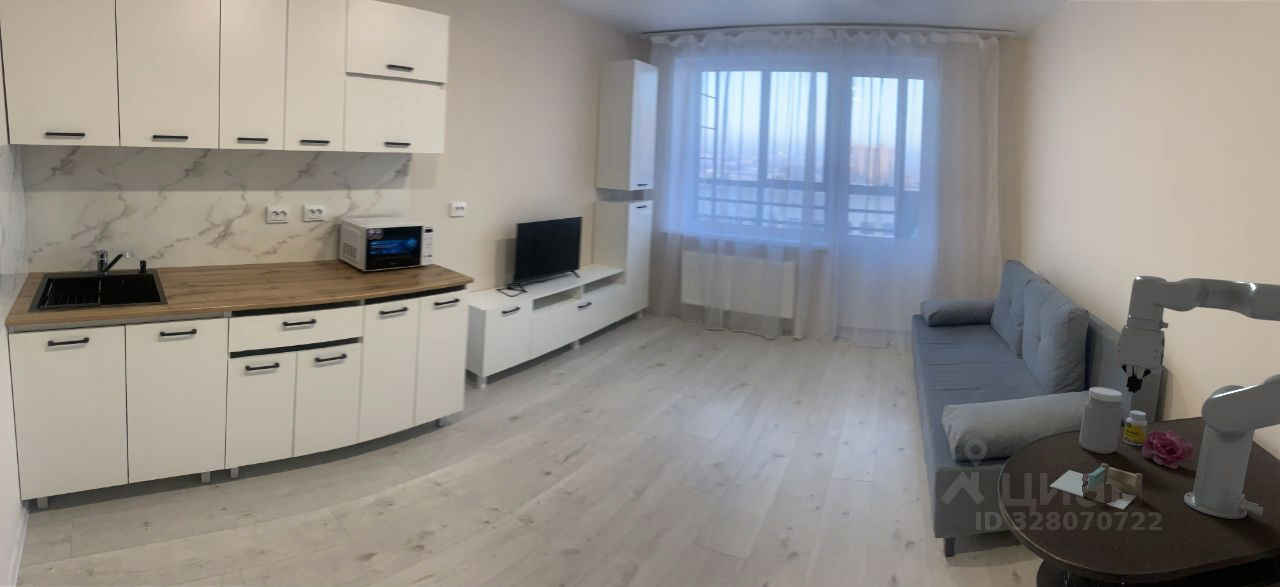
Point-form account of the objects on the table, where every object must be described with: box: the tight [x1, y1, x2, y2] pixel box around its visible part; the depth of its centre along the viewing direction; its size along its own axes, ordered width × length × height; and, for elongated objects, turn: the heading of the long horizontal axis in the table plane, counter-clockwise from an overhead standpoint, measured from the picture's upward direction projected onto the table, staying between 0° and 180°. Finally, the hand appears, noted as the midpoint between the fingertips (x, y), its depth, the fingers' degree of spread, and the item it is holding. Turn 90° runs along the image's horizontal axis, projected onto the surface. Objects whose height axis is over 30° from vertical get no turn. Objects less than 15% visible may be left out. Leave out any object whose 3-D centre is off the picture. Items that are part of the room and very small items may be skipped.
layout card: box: [1049, 469, 1137, 511], centre depth 198 cm, size 17×15×1 cm
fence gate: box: [1087, 466, 1106, 489], centre depth 196 cm, size 9×1×5 cm, turn 131°
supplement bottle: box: [1122, 409, 1148, 447], centre depth 230 cm, size 5×5×10 cm
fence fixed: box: [1100, 462, 1143, 498], centre depth 197 cm, size 9×2×6 cm, turn 44°
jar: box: [1078, 386, 1123, 455], centre depth 224 cm, size 10×10×18 cm
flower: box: [1140, 429, 1195, 469], centre depth 216 cm, size 11×10×10 cm
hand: (1133, 391), depth 199 cm, fingers closed
